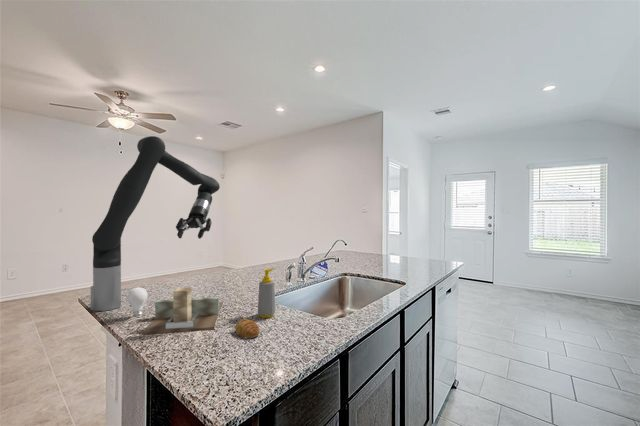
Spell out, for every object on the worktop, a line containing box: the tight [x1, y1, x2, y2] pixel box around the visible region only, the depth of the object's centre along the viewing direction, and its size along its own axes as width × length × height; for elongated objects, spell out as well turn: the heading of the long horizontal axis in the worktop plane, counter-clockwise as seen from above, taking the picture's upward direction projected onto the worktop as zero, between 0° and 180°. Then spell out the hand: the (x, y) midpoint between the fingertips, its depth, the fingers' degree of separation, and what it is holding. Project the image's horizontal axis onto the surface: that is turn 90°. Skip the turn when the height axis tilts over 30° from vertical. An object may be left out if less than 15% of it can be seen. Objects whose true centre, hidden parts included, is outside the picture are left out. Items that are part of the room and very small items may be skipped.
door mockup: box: [141, 296, 224, 336], centre depth 108 cm, size 22×26×7 cm
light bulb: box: [126, 286, 149, 316], centre depth 109 cm, size 7×7×11 cm
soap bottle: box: [257, 267, 276, 319], centre depth 111 cm, size 7×7×18 cm
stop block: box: [172, 287, 192, 322], centre depth 100 cm, size 4×4×12 cm
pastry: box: [234, 318, 261, 339], centre depth 95 cm, size 9×7×4 cm
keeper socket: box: [166, 313, 198, 330], centre depth 100 cm, size 8×8×2 cm
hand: (189, 237), depth 124 cm, fingers open, 8 cm apart
